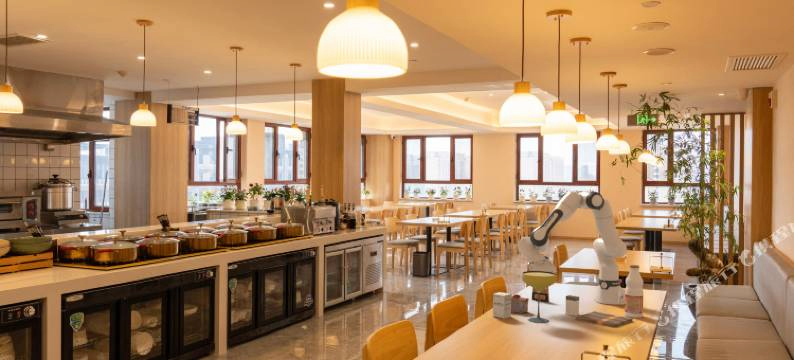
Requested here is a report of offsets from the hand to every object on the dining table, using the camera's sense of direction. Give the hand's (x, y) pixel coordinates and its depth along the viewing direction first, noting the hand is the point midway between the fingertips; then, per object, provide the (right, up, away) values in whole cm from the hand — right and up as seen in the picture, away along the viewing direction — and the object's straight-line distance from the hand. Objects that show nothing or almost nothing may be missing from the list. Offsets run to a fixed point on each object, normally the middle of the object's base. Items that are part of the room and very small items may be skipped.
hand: (551, 280), depth 355 cm
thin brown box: (0, -17, +25) cm, 30 cm away
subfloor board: (+22, -18, -24) cm, 37 cm away
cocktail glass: (-13, -17, -26) cm, 33 cm away
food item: (-21, -17, -5) cm, 28 cm away
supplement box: (-31, -17, -18) cm, 40 cm away
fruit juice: (+42, -18, -13) cm, 48 cm away
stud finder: (+9, -17, -10) cm, 22 cm away
